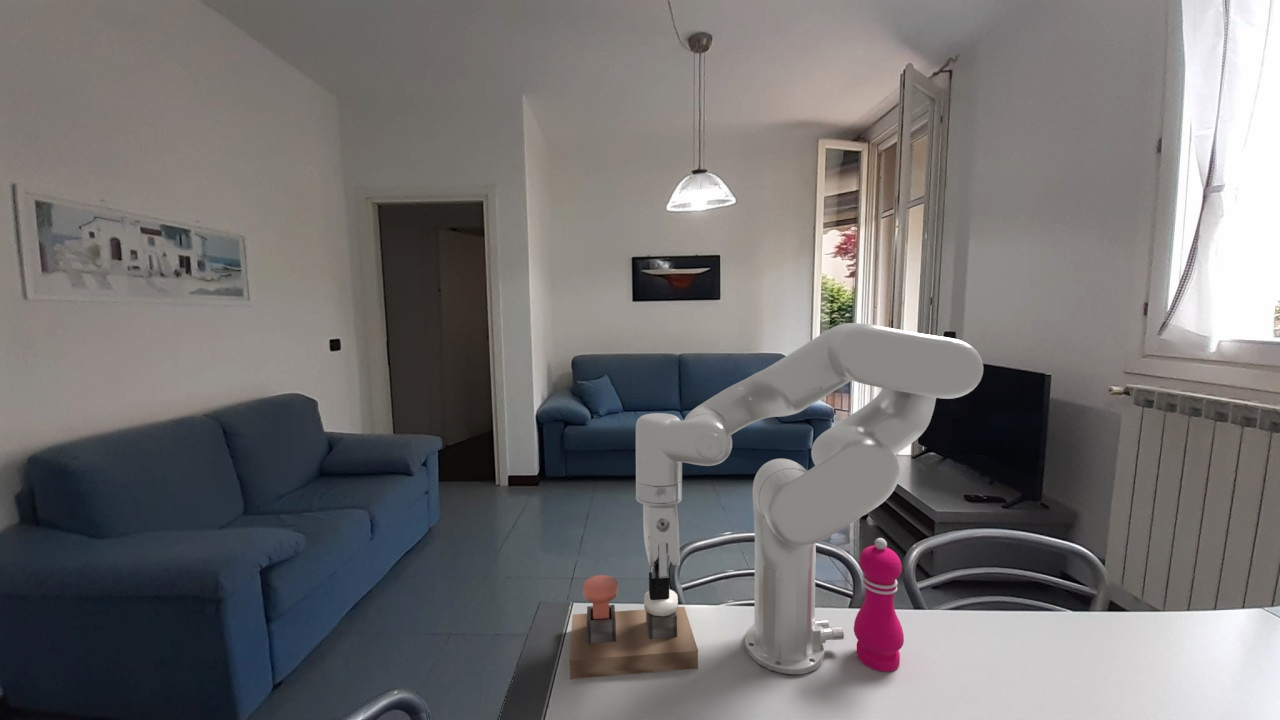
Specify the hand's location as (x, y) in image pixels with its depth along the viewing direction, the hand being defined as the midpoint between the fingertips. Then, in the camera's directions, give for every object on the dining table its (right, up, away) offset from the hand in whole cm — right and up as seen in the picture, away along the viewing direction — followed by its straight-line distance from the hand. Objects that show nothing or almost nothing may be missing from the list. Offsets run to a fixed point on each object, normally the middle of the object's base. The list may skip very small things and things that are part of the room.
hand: (659, 596), depth 84 cm
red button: (-10, -3, -1) cm, 10 cm away
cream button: (0, -5, 0) cm, 5 cm away
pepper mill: (+35, -9, -3) cm, 36 cm away
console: (-5, -9, 0) cm, 10 cm away
